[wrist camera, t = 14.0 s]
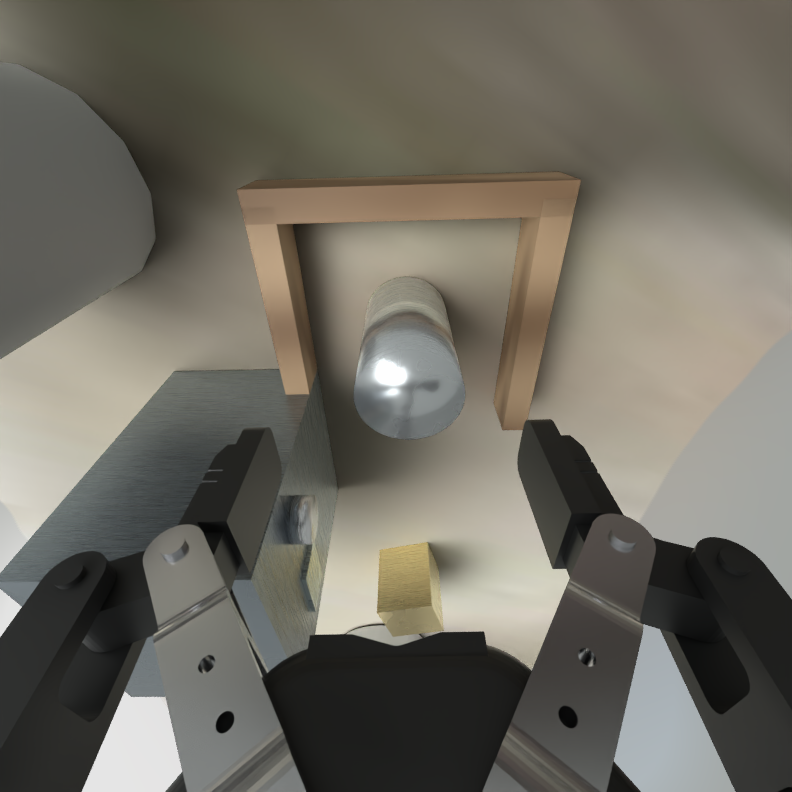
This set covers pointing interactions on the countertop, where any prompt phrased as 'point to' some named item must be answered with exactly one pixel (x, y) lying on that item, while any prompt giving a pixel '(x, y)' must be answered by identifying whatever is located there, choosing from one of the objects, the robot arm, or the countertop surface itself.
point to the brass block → (409, 590)
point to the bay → (405, 201)
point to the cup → (62, 207)
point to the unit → (175, 487)
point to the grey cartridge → (408, 362)
